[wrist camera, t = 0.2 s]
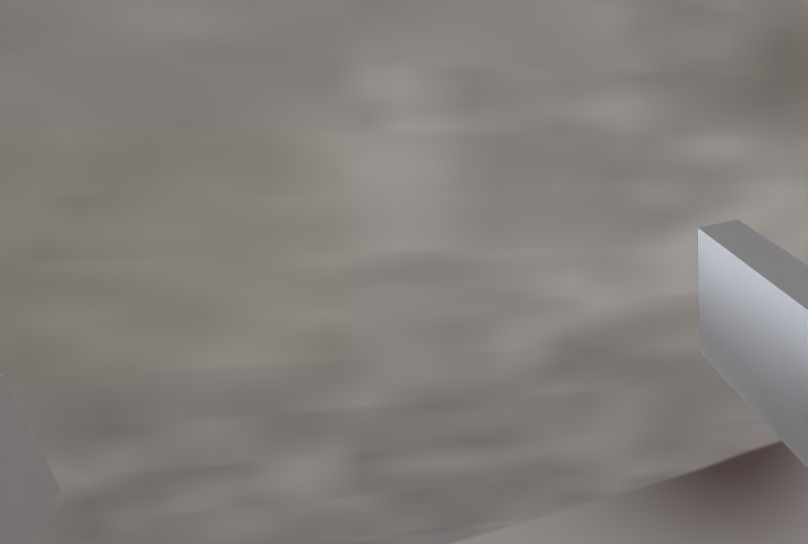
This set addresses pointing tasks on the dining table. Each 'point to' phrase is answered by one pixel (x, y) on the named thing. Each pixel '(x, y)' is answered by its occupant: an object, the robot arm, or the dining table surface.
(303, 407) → the dining table surface
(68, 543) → the dining table surface
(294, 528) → the dining table surface
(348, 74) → the dining table surface
